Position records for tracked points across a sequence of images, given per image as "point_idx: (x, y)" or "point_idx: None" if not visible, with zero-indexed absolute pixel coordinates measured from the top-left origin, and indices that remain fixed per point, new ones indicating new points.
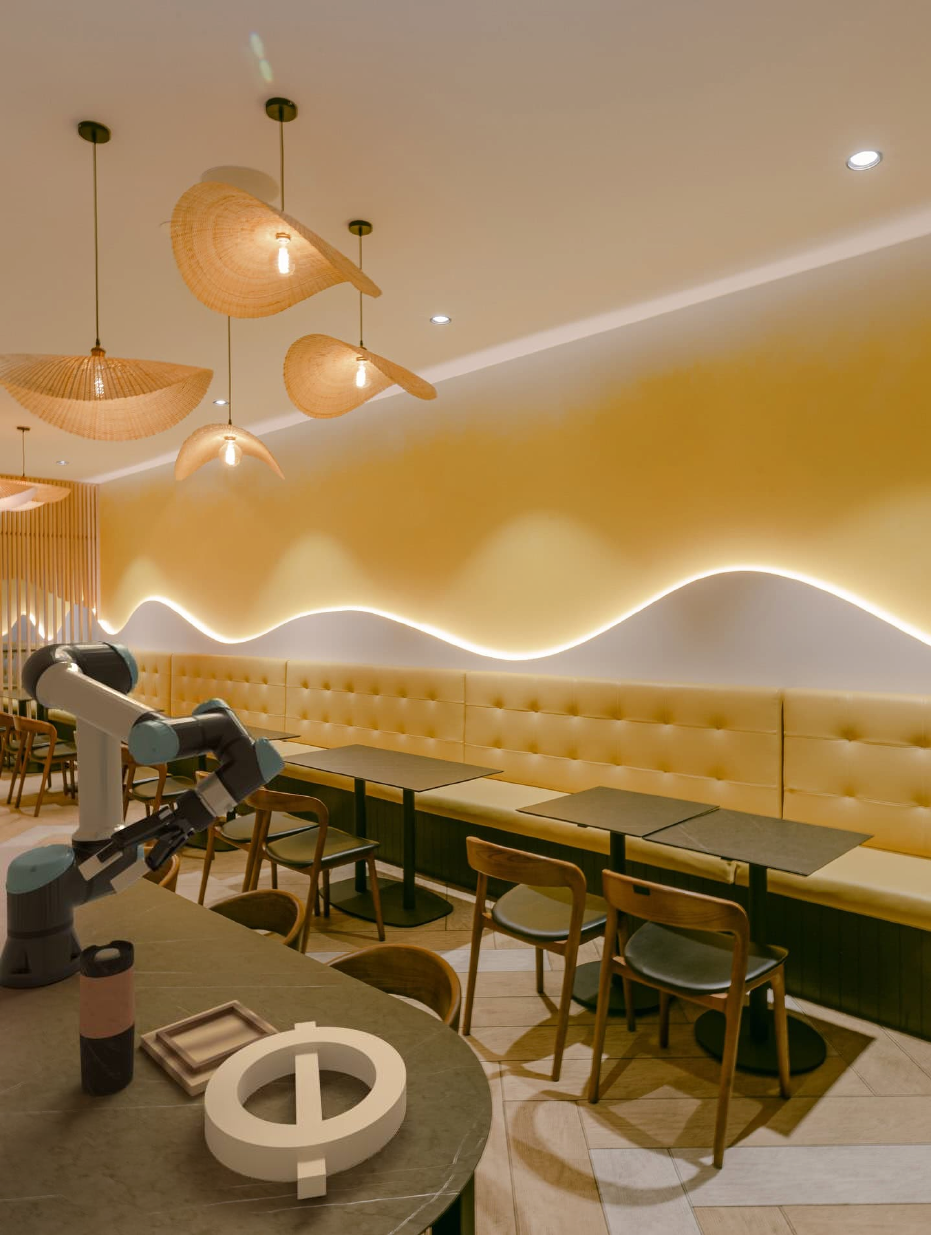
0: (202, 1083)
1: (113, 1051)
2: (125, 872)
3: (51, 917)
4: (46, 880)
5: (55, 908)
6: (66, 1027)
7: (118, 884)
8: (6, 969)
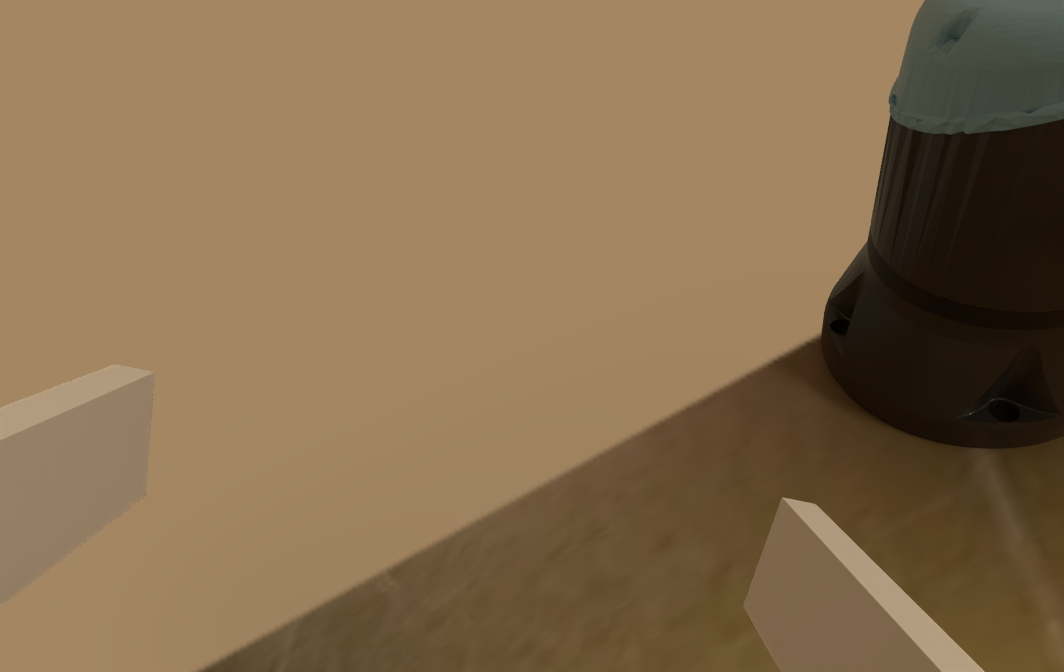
0: None
1: None
2: (859, 617)
3: (946, 265)
4: (969, 117)
5: (975, 246)
6: (622, 581)
7: (779, 589)
8: (835, 288)
